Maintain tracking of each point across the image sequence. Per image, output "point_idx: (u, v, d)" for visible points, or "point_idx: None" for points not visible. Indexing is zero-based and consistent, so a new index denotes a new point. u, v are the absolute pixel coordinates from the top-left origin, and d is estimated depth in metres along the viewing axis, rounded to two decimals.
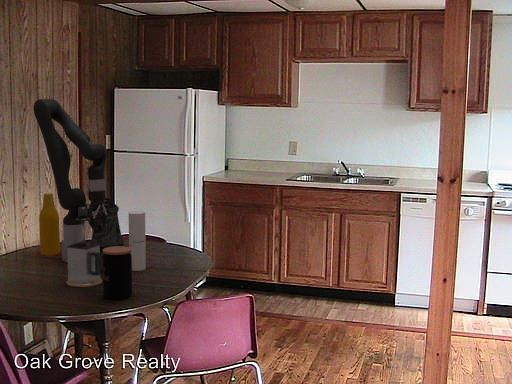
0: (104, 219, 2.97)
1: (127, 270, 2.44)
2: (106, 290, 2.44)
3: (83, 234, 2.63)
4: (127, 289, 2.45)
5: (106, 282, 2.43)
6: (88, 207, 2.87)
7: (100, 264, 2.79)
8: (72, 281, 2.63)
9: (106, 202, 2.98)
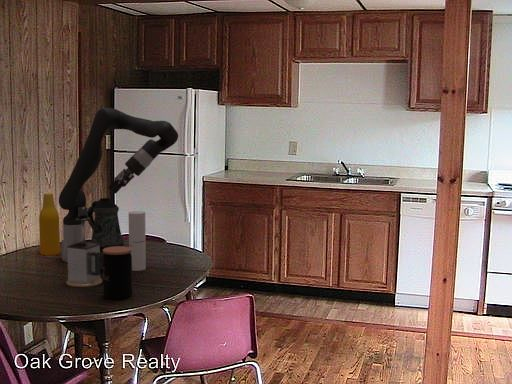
0: (114, 186, 2.69)
1: (127, 270, 2.44)
2: (106, 290, 2.44)
3: (83, 234, 2.63)
4: (127, 289, 2.45)
5: (106, 282, 2.43)
6: (130, 176, 2.60)
7: (102, 264, 2.79)
8: (72, 281, 2.63)
9: None
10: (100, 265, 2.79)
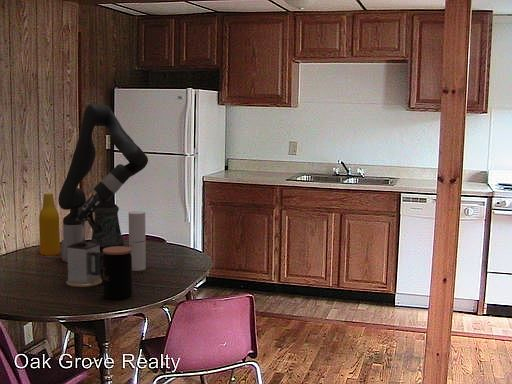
0: None
1: (127, 270, 2.44)
2: (106, 290, 2.44)
3: (83, 234, 2.63)
4: (127, 289, 2.45)
5: (106, 282, 2.43)
6: (96, 204, 2.57)
7: None
8: (72, 281, 2.63)
9: None
10: (102, 264, 2.80)
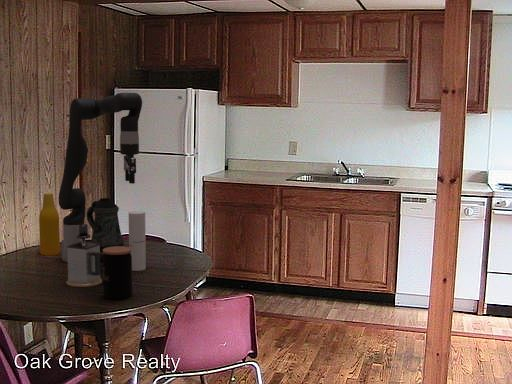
0: (129, 176, 2.72)
1: (127, 270, 2.44)
2: (106, 290, 2.44)
3: None
4: (127, 289, 2.45)
5: (106, 282, 2.43)
6: (133, 161, 2.61)
7: None
8: (72, 281, 2.63)
9: None
10: None
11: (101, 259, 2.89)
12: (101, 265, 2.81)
